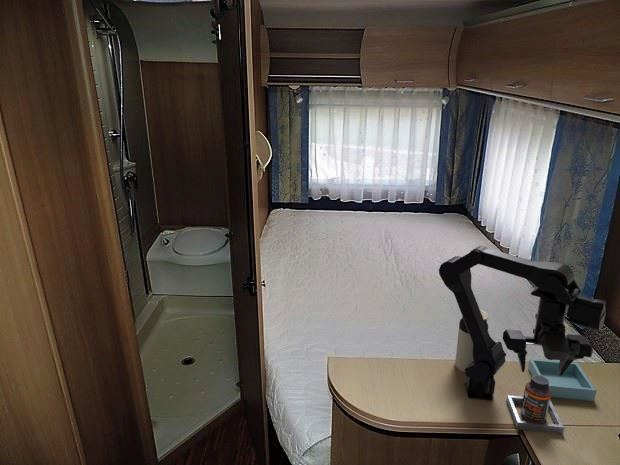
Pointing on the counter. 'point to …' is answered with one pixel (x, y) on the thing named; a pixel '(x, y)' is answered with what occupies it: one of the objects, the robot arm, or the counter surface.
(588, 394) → the bin
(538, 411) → the supplement bottle
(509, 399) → the collar
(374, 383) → the counter surface
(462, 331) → the travel mug
